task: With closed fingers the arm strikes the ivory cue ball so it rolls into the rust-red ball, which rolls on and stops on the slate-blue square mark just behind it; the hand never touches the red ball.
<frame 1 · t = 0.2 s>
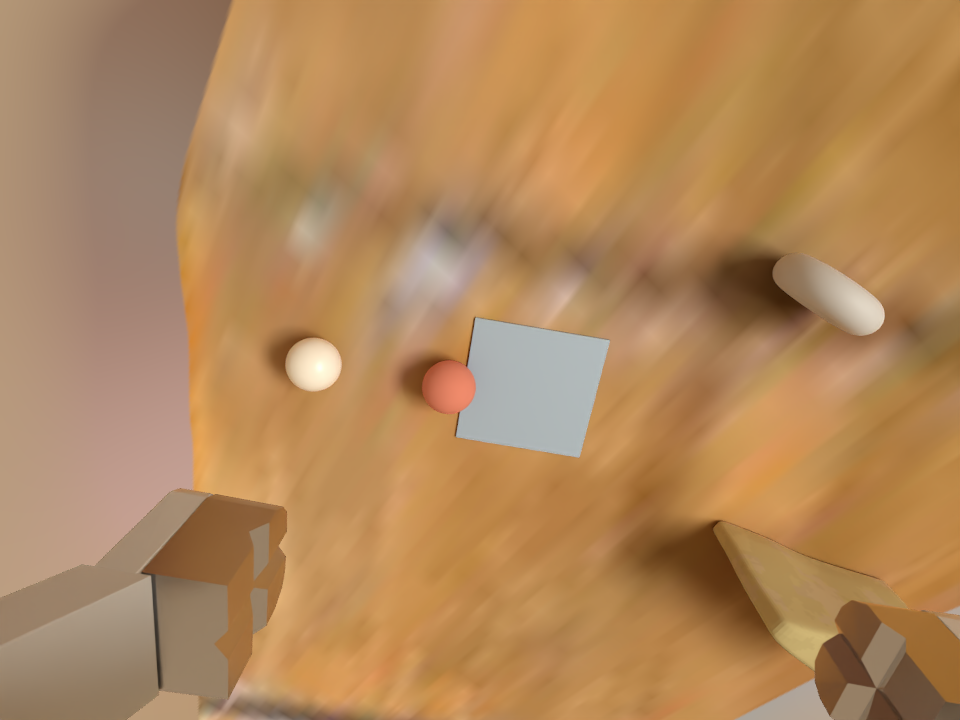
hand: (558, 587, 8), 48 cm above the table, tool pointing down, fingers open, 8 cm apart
cheese: (785, 564, 65), on the table
red ball: (449, 387, 56), on the table
cue ball: (313, 364, 56), on the table
donut: (796, 281, 53), on the table
mark: (529, 389, 59), on the table
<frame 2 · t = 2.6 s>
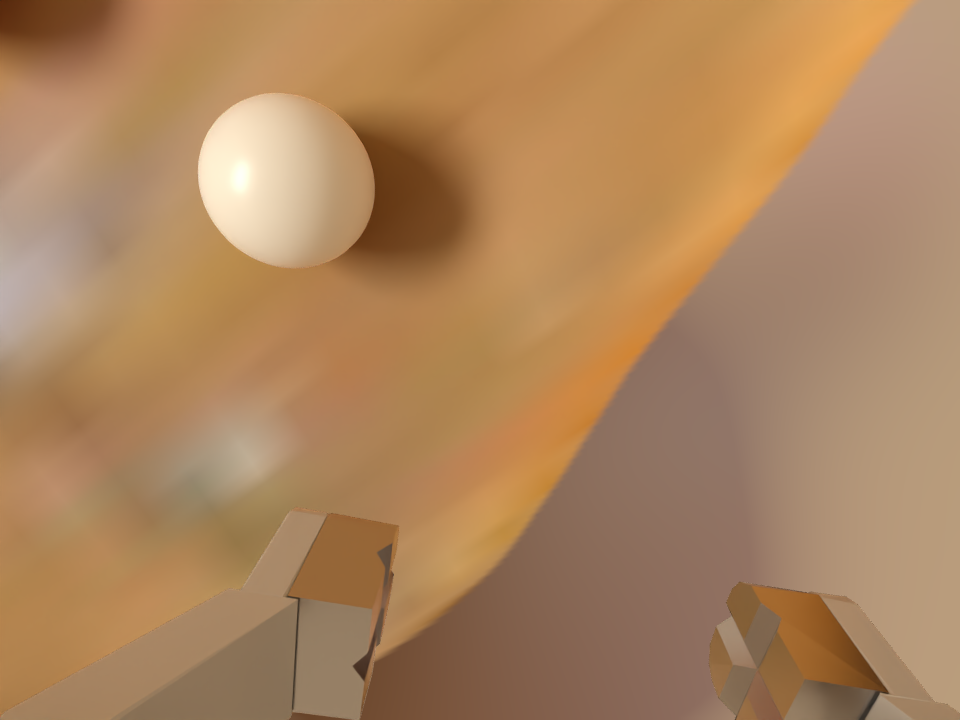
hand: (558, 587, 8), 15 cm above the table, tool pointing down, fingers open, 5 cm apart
cue ball: (290, 184, 18), on the table
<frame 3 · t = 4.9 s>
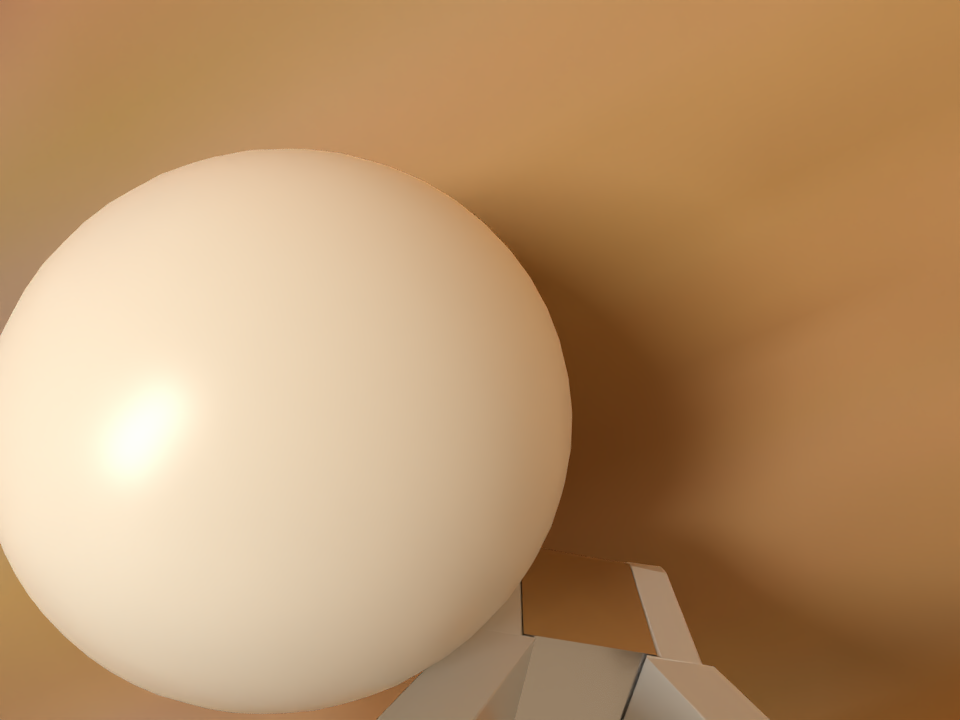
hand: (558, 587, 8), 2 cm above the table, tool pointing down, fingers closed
cue ball: (318, 416, 6), on the table, touching gripper
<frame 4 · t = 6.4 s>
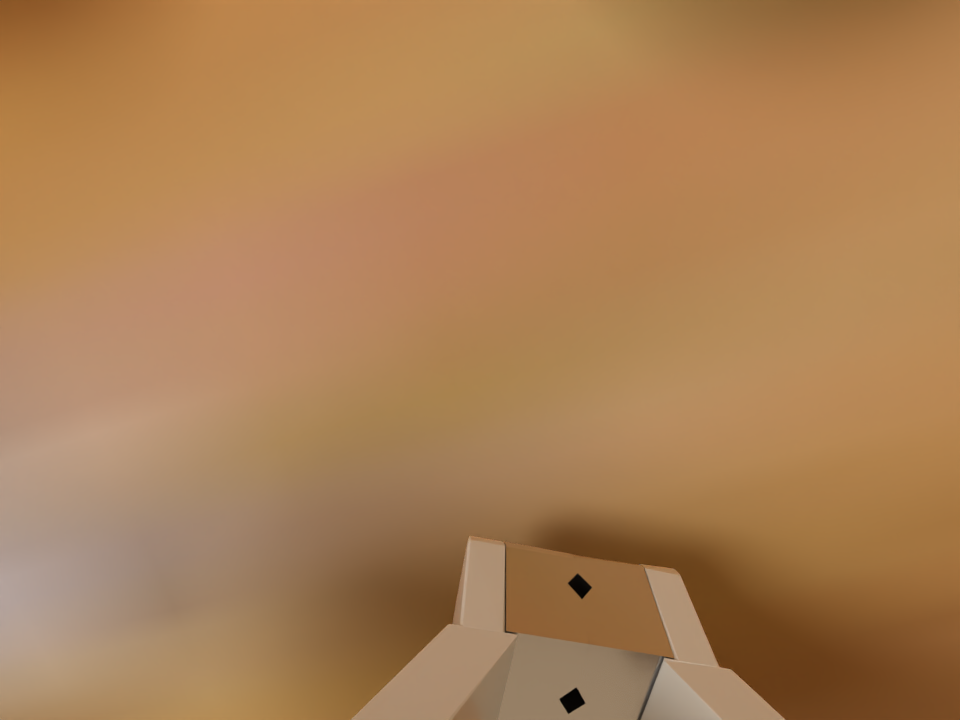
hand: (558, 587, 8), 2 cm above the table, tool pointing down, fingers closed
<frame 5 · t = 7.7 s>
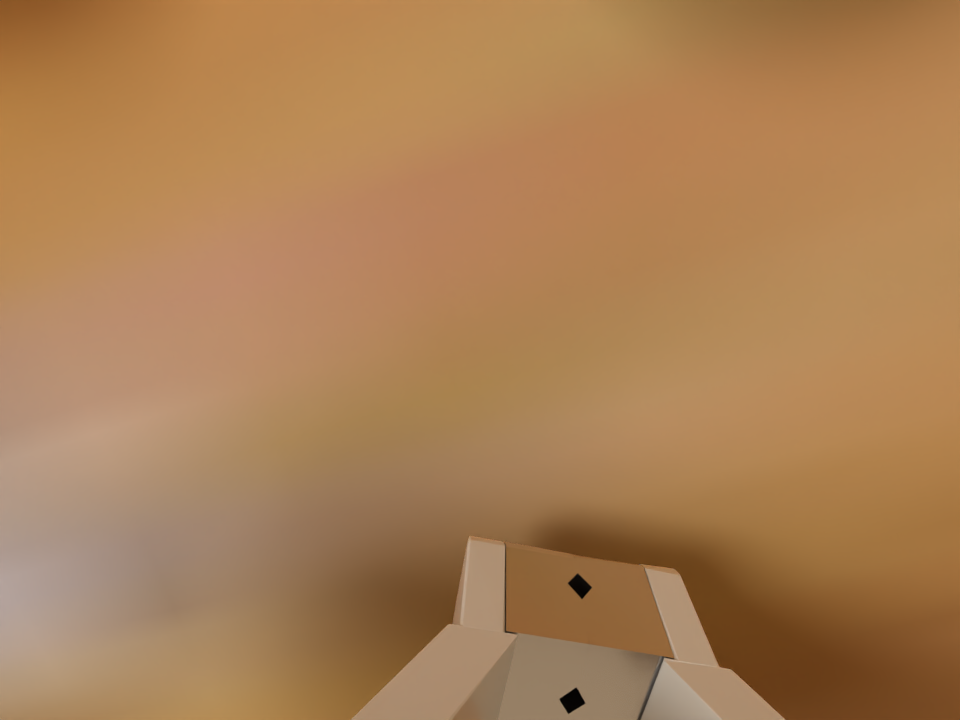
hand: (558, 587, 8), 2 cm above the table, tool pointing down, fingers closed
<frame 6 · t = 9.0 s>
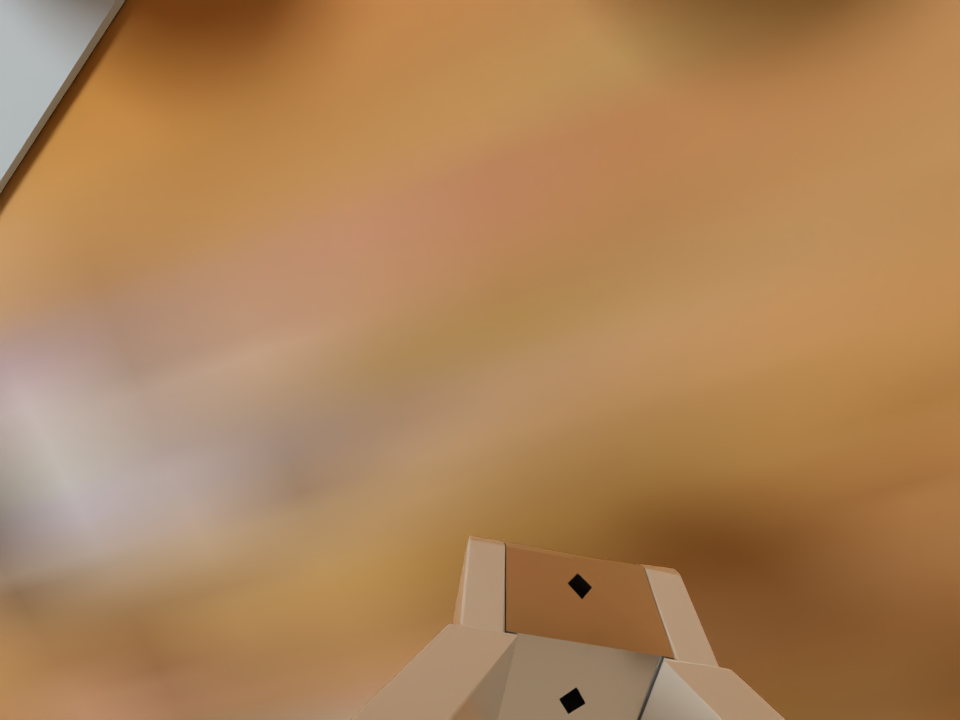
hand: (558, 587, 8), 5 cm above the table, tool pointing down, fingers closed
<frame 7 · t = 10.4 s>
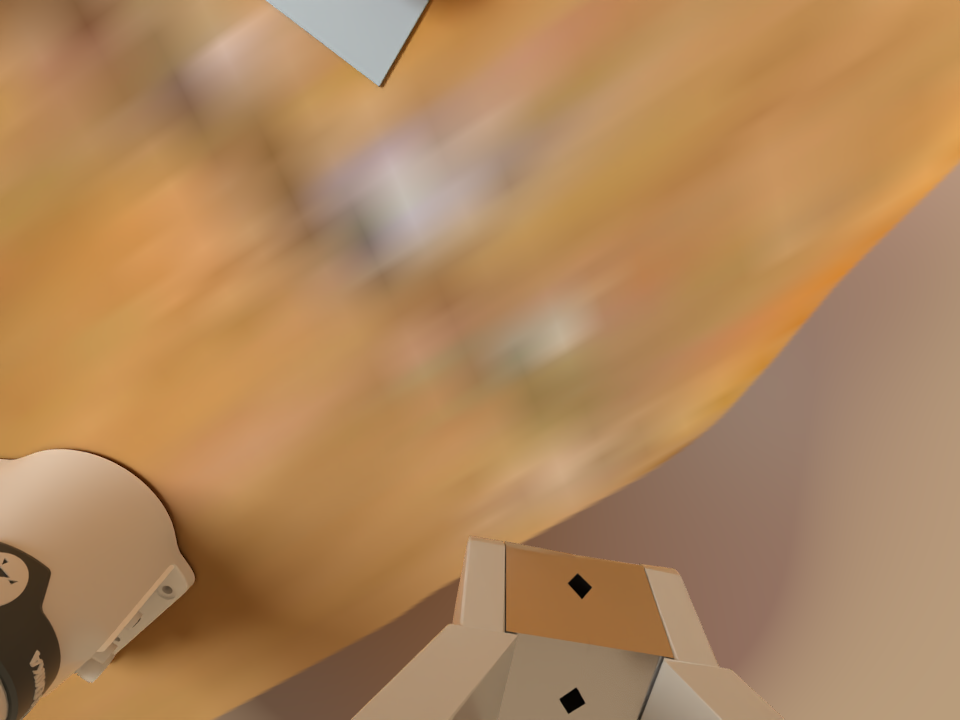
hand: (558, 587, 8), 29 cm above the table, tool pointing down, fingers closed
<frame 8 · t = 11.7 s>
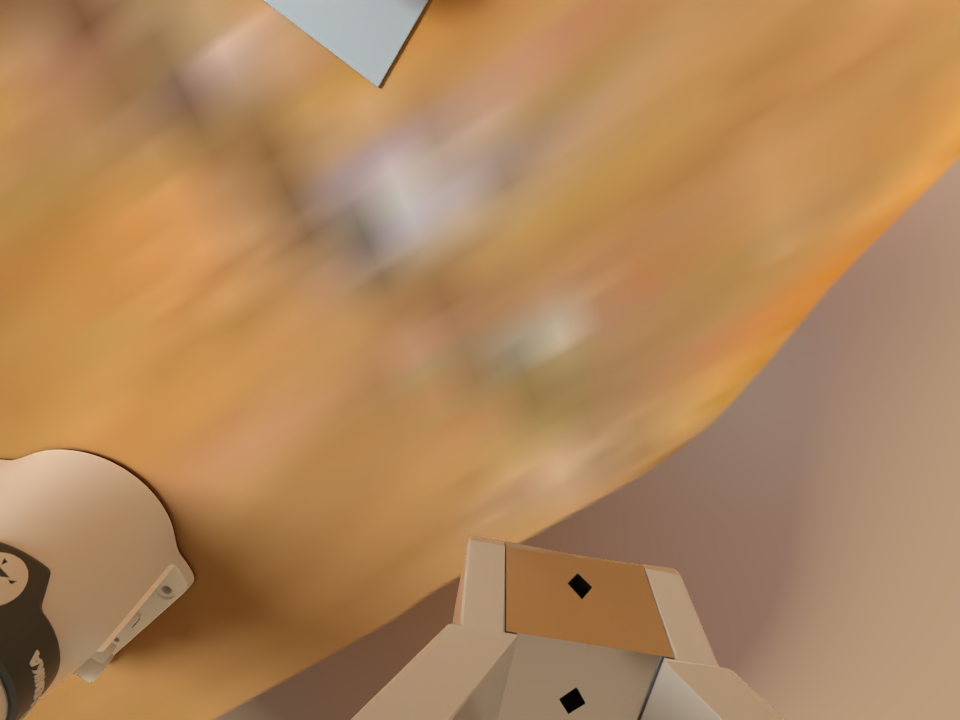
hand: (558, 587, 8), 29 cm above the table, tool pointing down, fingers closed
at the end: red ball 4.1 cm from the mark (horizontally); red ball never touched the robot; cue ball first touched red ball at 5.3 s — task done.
